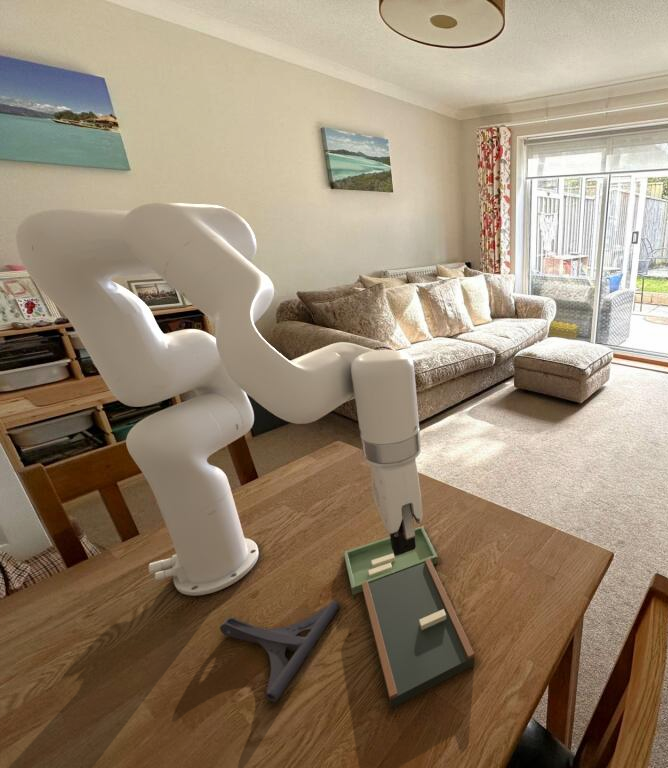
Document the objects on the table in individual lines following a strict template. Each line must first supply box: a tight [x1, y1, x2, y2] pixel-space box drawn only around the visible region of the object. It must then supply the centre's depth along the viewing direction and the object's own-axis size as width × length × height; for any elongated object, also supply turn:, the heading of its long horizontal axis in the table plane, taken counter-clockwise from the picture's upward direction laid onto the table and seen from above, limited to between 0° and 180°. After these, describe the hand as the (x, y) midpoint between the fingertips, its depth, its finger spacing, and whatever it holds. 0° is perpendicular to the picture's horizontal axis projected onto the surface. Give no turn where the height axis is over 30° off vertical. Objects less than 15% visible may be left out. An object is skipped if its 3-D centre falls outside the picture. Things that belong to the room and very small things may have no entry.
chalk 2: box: [368, 563, 392, 579], centre depth 73 cm, size 4×1×1 cm, turn 119°
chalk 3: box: [419, 609, 446, 630], centre depth 62 cm, size 4×1×1 cm, turn 119°
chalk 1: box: [371, 554, 395, 568], centre depth 75 cm, size 4×1×1 cm, turn 118°
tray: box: [343, 525, 439, 596], centre depth 76 cm, size 15×9×2 cm, turn 119°
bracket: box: [219, 600, 341, 703], centre depth 60 cm, size 14×15×3 cm
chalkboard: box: [362, 558, 475, 709], centre depth 63 cm, size 12×20×2 cm, turn 29°
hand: (403, 548), depth 61 cm, fingers closed
